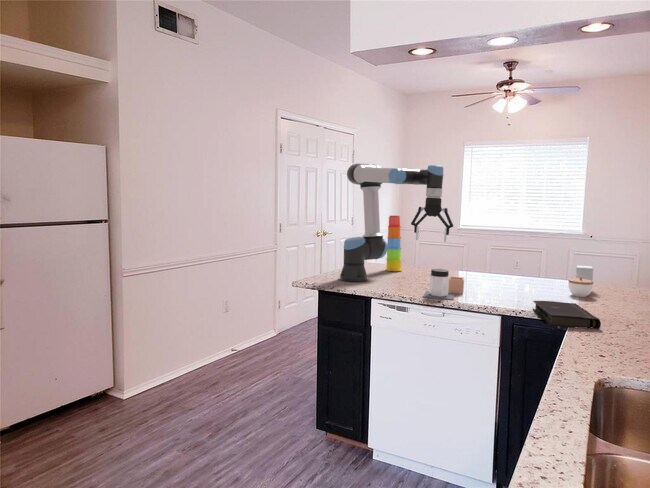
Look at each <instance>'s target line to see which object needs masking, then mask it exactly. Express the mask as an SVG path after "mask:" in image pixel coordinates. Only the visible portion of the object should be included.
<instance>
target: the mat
mask: <svg viewBox="0 0 650 488" xmlns="http://www.w3.org/2000/svg"><path fill="white" fill-rule="evenodd" d="M455 296H456V293H448V296H443V297H439V296H432V295H431V294H430V290H425V292H424V294H423V295H422V298H426V299H427V298H428V299H437V300H438V299H439V300H450V301H454V298H455Z"/></svg>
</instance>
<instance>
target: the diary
mask: <svg viewBox="0 0 650 488" xmlns="http://www.w3.org/2000/svg"><path fill="white" fill-rule="evenodd" d="M532 302H533V303H534V304H535V307H534V308H532V311H533V312H534V313H535V314H536V315H537V317H539V318H540V319H541V320H542V321H545V323H546V324H547V325H548V327H552V328H553V327H555V328H556V327H557V328H571V329H572V328H573V329H576V328H575V327H578V328H579V327H589V326H590V327H593V328H595V327H597V328H599V329H600V328H601V325H602V322H601V320H600V318H598V317H597V316H596V315H593V314H591V313H590V312H589V311H588V310H586V309H584V308H582V307H581V306H580V305H578V303H573V302H562V301H561V302H560V301H553V300H532ZM590 327H589V328H590ZM597 328H596V329H597Z"/></svg>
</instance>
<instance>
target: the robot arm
mask: <svg viewBox="0 0 650 488" xmlns="http://www.w3.org/2000/svg"><path fill="white" fill-rule="evenodd" d="M346 177H347V179H348V181H349V182H350V183H351V184H354V185H358V186H360V187H359V188H360V190H361V191H362V193H363V196H362V197H363V198H362V199H363V217H364V221H363V223H364V234H363V235H362V236H356V237H354V236H353V237H348V238H346V239H344V241H343V242H344V243H343V266H342V269H341V272H340V275H339V280H341V281H343V282H347V283H348V282H350V283H362V282H367V280H368V275H367V271H366V268H365V261H369V260H371V261H372V260H379V259H382V258H384V257H385V255H387V249H388V241H387V240H386V239H384V235H383V234H382V233H381V228H380V227H381V225H380V224H381V223H380V222H381V221H380V204H379V203H380V202H379V200H380V199H379V191H380V189H381V188H382V186H381V185H382V184H383V183H384V184H385V183H386V184H395V185H416V186H417V185H419V186H420V185H422V186H423V185H426V191H425V196H426V197H425V205H424V207H423V206H419V207H418V209H417V212H416V214H415V216H414V217H413V219H412V221H411V223H410V225H411V226H413V227H414V232H413V233H414V234H415V240H416V241H418V240H419V233H420V232H419V231H420V226H418V225H420V224H421V223H422V221H423V220H424V219H425V218H426V217H434V218H435V217H437V218H438V219H439V220H440V221H441V223H442V224H443V225H444V226H445V228H444V237H443V242H444V243H446V242H447V236H449V234H450V229H451V228H453V227H454V224H453V222H452V219H451V217H450V214H449V212H448V211H449V210H448V209H449V208H448V207H443V208H442V197H443V180H444V166H443V165H441V164H439V165H436V164H435V165H431V164H430V165H428V166H427V169H421V168H420V169H418V168H417V169H415V168H404V167H403V168H402V167H393V168H392V167H381V166H380V165H378V164H374V163H354V164H352V165H350V166H349V167H348V169H347V172H346ZM423 211H424V212H425V213H423V215H422V216H421V217H420V215H421V212H423ZM441 212H443V213H444V215H445V217H446V219H447V221H448V222H447V221H446V220H445V218H444V217H443V216H442V214H441ZM419 217H420V218H419ZM418 218H419V220H417V219H418ZM416 221H417V222H416Z"/></svg>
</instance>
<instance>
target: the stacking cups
mask: <svg viewBox="0 0 650 488" xmlns="http://www.w3.org/2000/svg"><path fill="white" fill-rule="evenodd" d="M401 228H402V227H401V216H400V215H389V216H388V226H387V237H386V238H387V245H388V249H387V253H386V258H385V260H386V268H385V271H387V272H402V259H403V258H402V257H401V253H402V252H401V251H402V247H401V239H402V238H401Z"/></svg>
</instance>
